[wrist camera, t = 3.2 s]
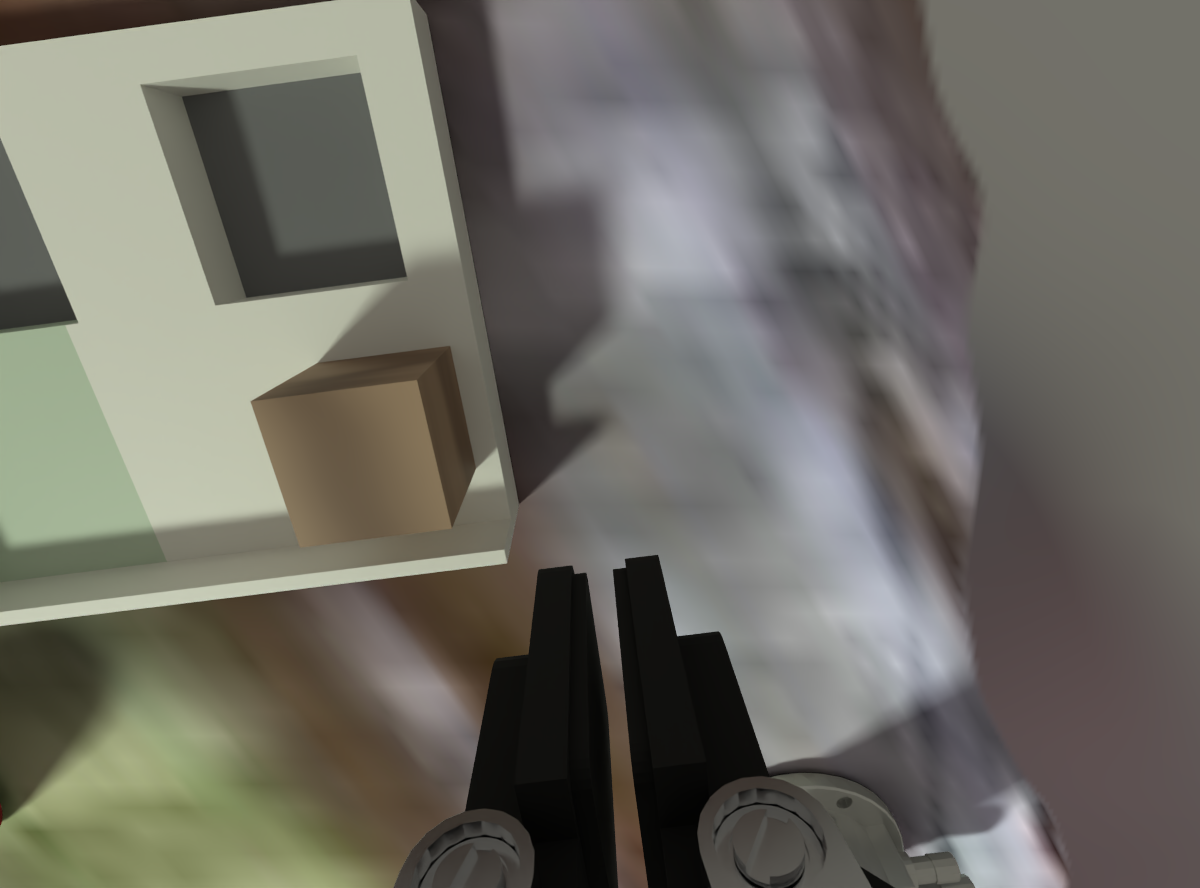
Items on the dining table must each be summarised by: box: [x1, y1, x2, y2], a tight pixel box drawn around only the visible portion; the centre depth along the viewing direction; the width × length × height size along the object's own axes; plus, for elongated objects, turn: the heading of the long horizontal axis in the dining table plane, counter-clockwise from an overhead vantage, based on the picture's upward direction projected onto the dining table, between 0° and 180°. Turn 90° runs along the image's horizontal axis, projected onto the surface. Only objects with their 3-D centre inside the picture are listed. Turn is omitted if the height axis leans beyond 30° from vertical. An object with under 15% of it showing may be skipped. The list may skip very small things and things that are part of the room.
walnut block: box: [250, 346, 476, 548], centre depth 21 cm, size 5×5×5 cm
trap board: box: [0, 0, 519, 626], centre depth 22 cm, size 23×19×5 cm
